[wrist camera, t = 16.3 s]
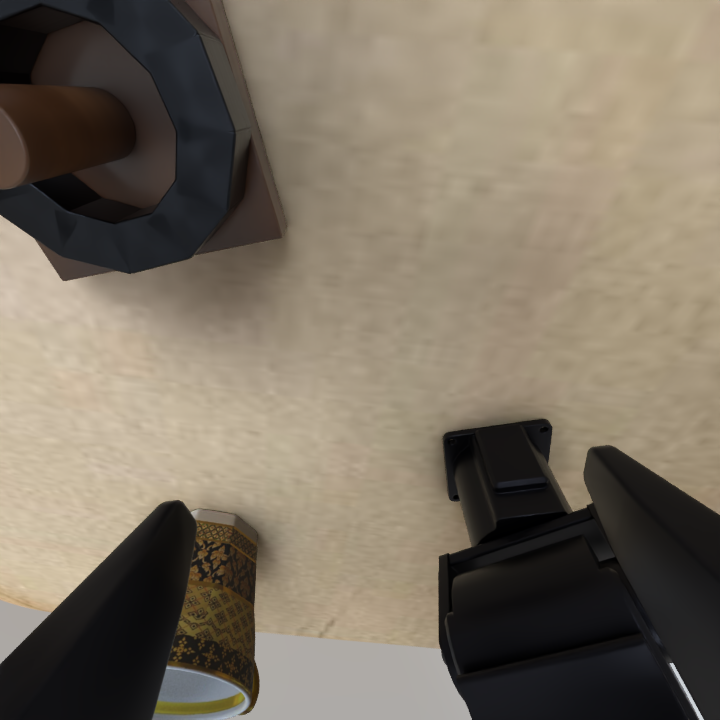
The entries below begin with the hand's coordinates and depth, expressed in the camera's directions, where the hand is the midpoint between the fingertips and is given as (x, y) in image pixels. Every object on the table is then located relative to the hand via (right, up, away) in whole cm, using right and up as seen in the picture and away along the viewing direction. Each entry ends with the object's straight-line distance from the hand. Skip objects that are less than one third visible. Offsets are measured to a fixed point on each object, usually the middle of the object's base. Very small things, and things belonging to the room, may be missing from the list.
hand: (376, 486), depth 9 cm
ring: (-9, +11, +5) cm, 15 cm away
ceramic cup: (-11, -12, +23) cm, 28 cm away
